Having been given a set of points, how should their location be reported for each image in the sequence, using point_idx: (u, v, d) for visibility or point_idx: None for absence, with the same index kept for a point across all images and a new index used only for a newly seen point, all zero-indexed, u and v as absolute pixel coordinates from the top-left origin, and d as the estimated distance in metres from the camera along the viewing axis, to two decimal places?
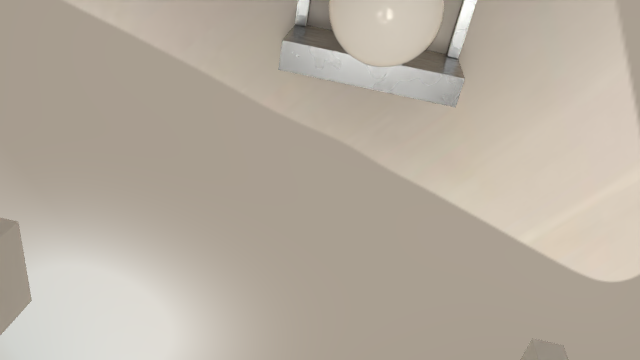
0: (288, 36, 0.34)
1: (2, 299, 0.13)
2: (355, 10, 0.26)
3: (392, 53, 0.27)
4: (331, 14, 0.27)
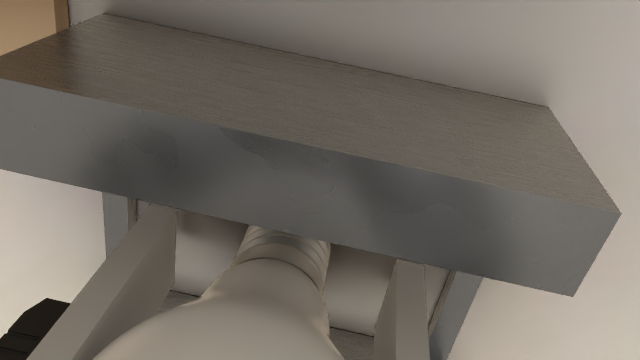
0: None
1: (161, 279, 0.14)
2: None
3: None
4: None
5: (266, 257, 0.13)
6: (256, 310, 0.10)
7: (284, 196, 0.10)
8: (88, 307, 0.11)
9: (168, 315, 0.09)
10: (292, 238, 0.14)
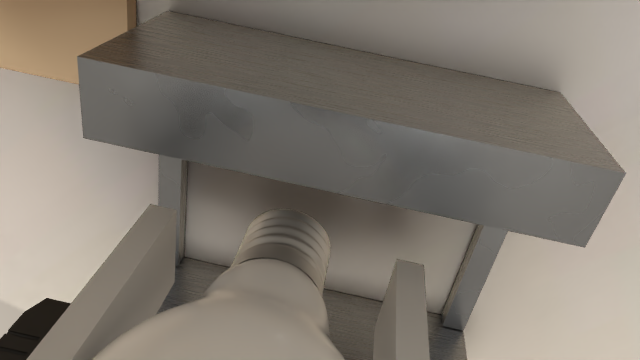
0: None
1: (162, 279, 0.14)
2: None
3: None
4: None
5: (266, 257, 0.13)
6: (256, 309, 0.10)
7: (342, 162, 0.11)
8: (88, 307, 0.11)
9: (168, 315, 0.09)
10: (292, 238, 0.14)
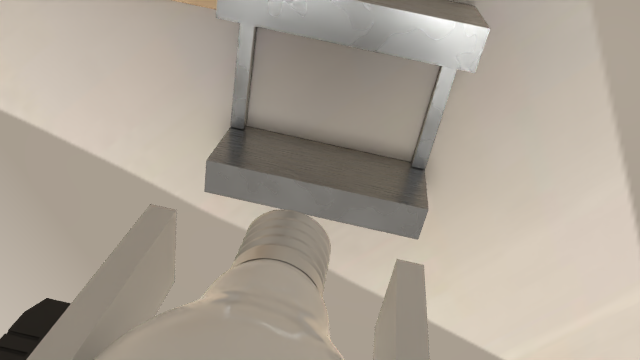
0: (216, 151, 0.28)
1: (161, 279, 0.14)
2: None
3: None
4: None
5: (266, 258, 0.13)
6: (256, 311, 0.10)
7: (351, 28, 0.22)
8: (88, 307, 0.11)
9: (168, 316, 0.09)
10: (292, 239, 0.14)
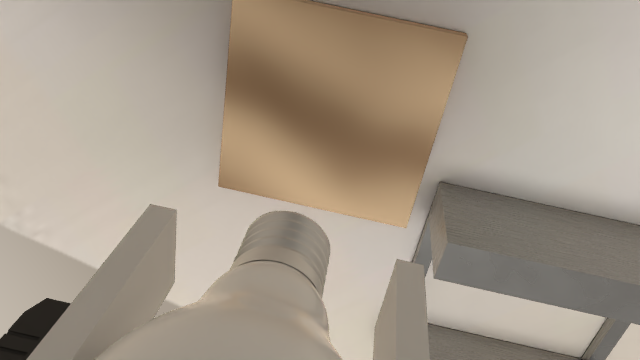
0: None
1: (162, 279, 0.14)
2: None
3: None
4: None
5: (265, 259, 0.13)
6: (256, 313, 0.10)
7: (582, 296, 0.21)
8: (88, 307, 0.11)
9: (167, 318, 0.09)
10: (291, 240, 0.14)
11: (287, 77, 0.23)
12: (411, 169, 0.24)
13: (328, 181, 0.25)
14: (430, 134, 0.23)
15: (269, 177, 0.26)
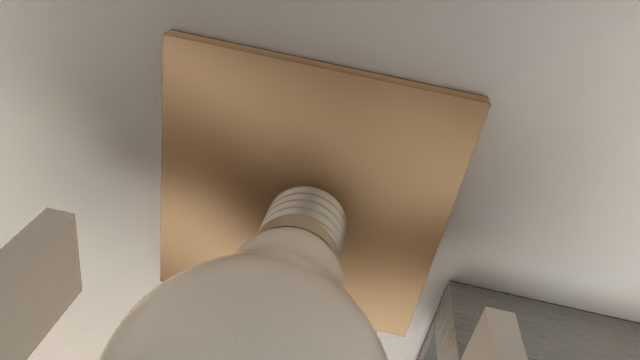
0: None
1: (59, 288, 0.13)
2: None
3: None
4: None
5: (289, 225, 0.14)
6: (284, 260, 0.11)
7: None
8: None
9: (208, 262, 0.11)
10: (312, 210, 0.15)
11: (243, 151, 0.17)
12: (411, 268, 0.18)
13: None
14: (437, 227, 0.17)
15: None
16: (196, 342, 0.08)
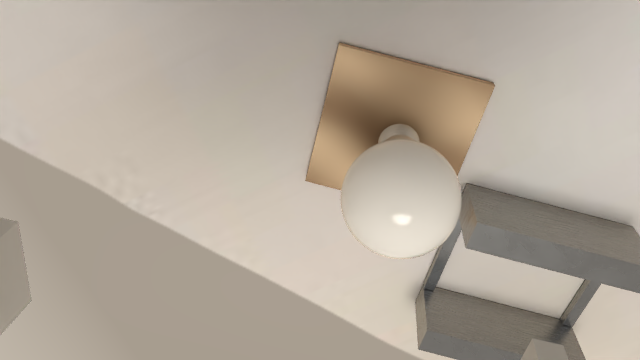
0: (428, 319, 0.37)
1: (2, 299, 0.13)
2: (371, 216, 0.24)
3: (406, 256, 0.26)
4: (343, 207, 0.26)
5: (400, 138, 0.30)
6: None
7: (565, 262, 0.32)
8: None
9: (388, 140, 0.27)
10: (408, 133, 0.31)
11: (368, 106, 0.33)
12: None
13: None
14: (463, 150, 0.34)
15: (344, 175, 0.36)
16: (401, 157, 0.25)
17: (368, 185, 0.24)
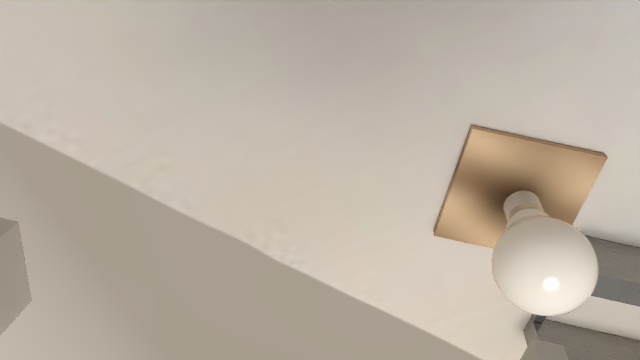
0: None
1: (2, 299, 0.13)
2: (529, 287, 0.30)
3: (555, 315, 0.32)
4: (499, 275, 0.32)
5: (530, 207, 0.36)
6: (554, 218, 0.33)
7: None
8: None
9: (532, 218, 0.33)
10: (534, 201, 0.37)
11: (494, 175, 0.39)
12: None
13: None
14: (576, 208, 0.39)
15: (469, 230, 0.42)
16: (552, 239, 0.30)
17: (526, 262, 0.31)
